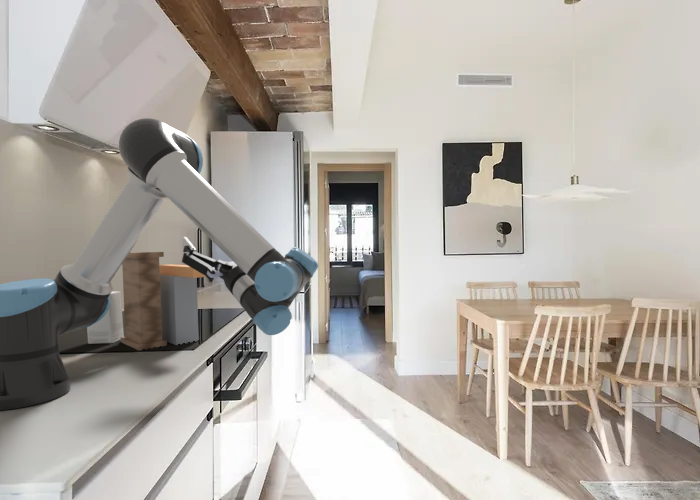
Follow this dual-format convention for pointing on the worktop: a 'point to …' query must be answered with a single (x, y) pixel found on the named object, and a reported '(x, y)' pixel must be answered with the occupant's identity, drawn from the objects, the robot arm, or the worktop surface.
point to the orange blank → (179, 271)
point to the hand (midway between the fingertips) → (208, 240)
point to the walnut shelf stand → (142, 300)
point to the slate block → (179, 309)
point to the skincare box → (108, 323)
